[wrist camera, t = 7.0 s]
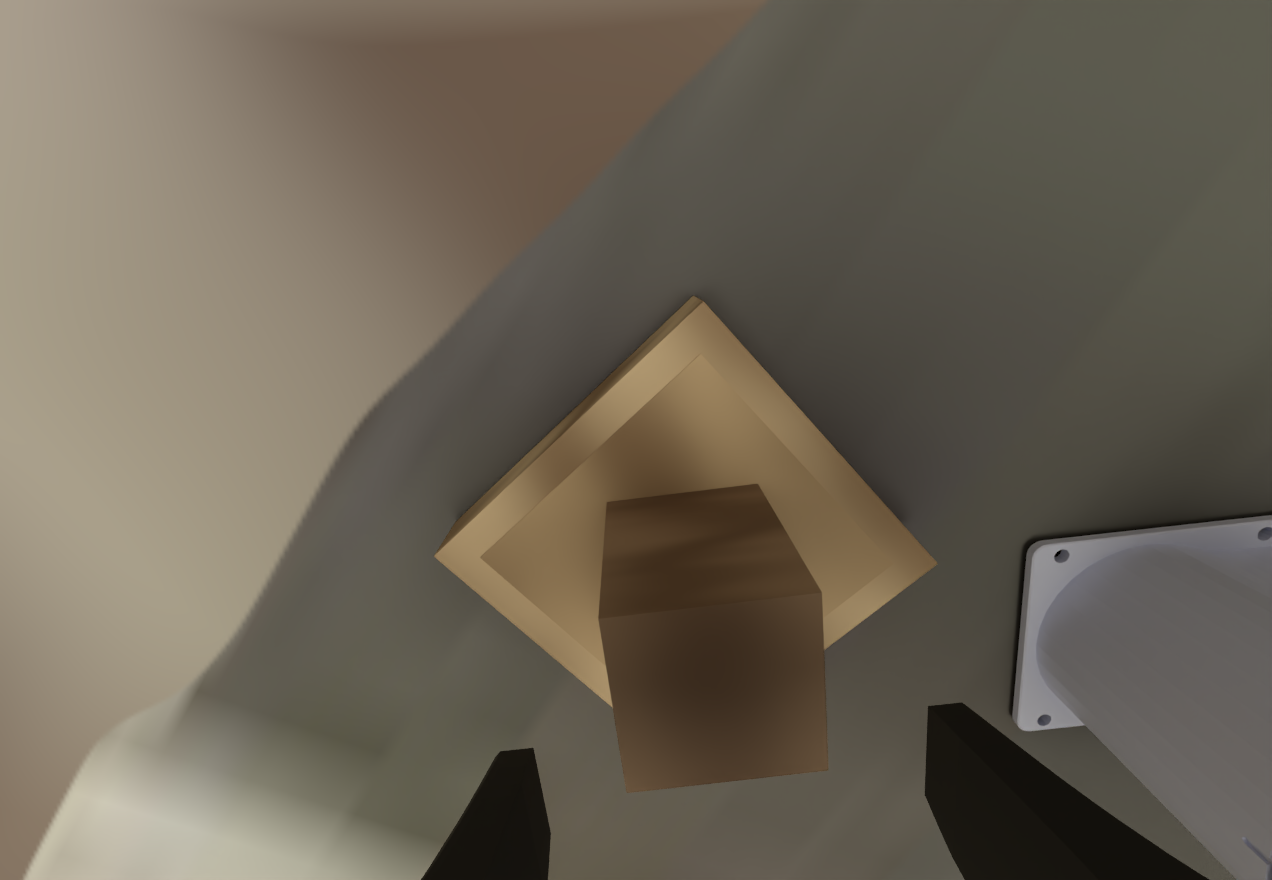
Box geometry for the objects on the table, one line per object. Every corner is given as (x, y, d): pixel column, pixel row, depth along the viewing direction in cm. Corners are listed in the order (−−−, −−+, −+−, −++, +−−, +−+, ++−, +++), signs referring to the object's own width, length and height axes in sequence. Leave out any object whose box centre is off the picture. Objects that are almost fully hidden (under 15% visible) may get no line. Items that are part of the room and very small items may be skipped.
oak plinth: (693, 295, 19) (703, 301, 16) (901, 528, 21) (938, 564, 19) (456, 521, 21) (433, 556, 18) (671, 709, 23) (676, 763, 21)
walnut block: (757, 483, 18) (821, 592, 12) (766, 614, 19) (828, 770, 13) (606, 501, 18) (598, 618, 12) (625, 631, 19) (626, 792, 13)
